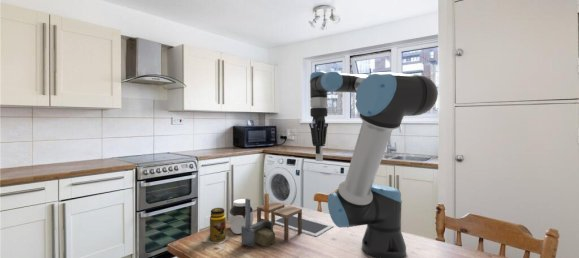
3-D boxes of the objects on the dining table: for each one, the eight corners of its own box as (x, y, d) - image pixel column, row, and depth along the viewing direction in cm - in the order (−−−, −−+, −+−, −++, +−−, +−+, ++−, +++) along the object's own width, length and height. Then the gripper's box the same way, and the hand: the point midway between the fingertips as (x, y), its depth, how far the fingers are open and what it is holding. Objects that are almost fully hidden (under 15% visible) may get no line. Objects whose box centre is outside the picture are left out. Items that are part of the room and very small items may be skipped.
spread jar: (248, 222, 126) (247, 197, 126) (259, 230, 117) (259, 203, 117) (223, 227, 120) (223, 201, 119) (233, 236, 110) (233, 208, 110)
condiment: (222, 243, 104) (222, 212, 104) (201, 242, 105) (201, 211, 105) (229, 235, 111) (229, 206, 111) (210, 234, 112) (209, 205, 112)
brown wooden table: (301, 233, 114) (301, 208, 113) (286, 241, 106) (286, 215, 106) (273, 223, 124) (272, 201, 124) (257, 230, 116) (257, 207, 116)
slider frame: (273, 237, 108) (272, 194, 107) (252, 247, 99) (252, 201, 99) (262, 233, 111) (262, 192, 111) (241, 242, 103) (241, 198, 102)
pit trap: (333, 226, 120) (333, 225, 120) (316, 236, 110) (316, 235, 110) (288, 214, 137) (288, 213, 137) (269, 221, 126) (269, 221, 126)
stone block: (265, 248, 100) (265, 235, 100) (245, 239, 108) (245, 227, 108) (276, 243, 105) (276, 230, 105) (256, 235, 112) (256, 223, 112)
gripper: (318, 108, 128) (319, 158, 128) (303, 107, 117) (304, 161, 118) (333, 108, 124) (333, 159, 124) (318, 106, 113) (319, 163, 113)
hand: (319, 160), depth 121 cm, fingers closed
